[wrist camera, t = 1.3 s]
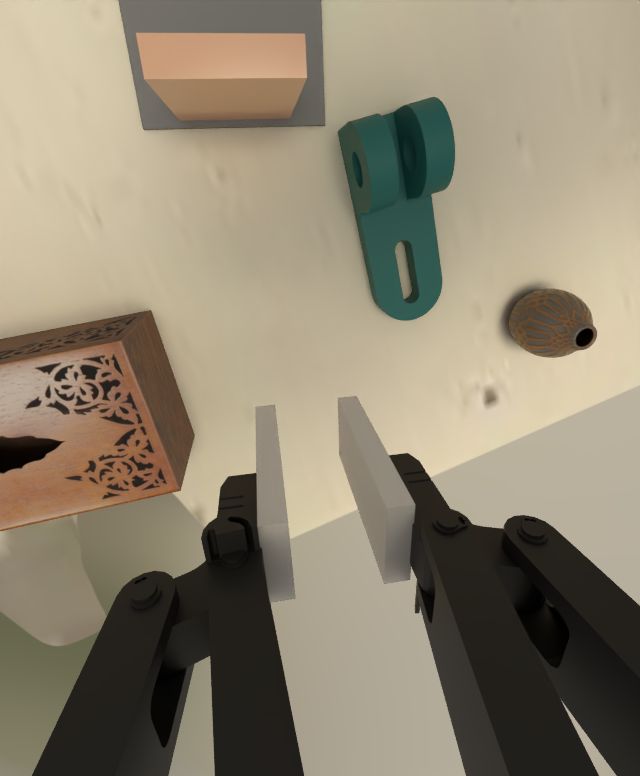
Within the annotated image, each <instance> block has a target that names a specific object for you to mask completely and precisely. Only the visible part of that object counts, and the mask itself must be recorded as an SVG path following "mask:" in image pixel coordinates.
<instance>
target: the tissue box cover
mask: <svg viewBox="0 0 640 776" xmlns="http://www.w3.org/2000/svg"><path fill="white" fill-rule="evenodd" d="M194 436H195V435H194V432H193V429H192V426H191V423H190V421H189V418H188V415H187V412H186V409H185V406H184V403H183V400H182V398H181V395H180V392H179V389H178V386H177V383H176V380H175V378H174V375H173V372H172V369H171V366H170V363H169V360H168V357H167V355H166V352H165V349H164V346H163V343H162V340H161V337H160V335H159V332H158V329H157V326H156V323H155V320H154V317H153V314H152V312H151V310H149V311H144V312H139V313H134V314H129V315H124V316H119V317H113V318H108V319H103V320H98V321H93V322H88V323H82V324H77V325H72V326H67V327H62V328H57V329H51V330H46V331H41V332H36V333H31V334H26V335H21V336H15V337H10V338H5V339H0V531H3V530H8V529H12V528H17V527H21V526H25V525H30V524H34V523H39V522H43V521H48V520H52V519H57V518H61V517H65V516H70V515H74V514H79V513H83V512H88V511H92V510H96V509H101V508H105V507H110V506H114V505H118V504H123V503H128V502H132V501H136V500H141V499H145V498H150V497H154V496H159V495H163V494H167V493H172V492H177V491H181V487H182V483H183V479H184V475H185V471H186V467H187V463H188V459H189V455H190V452H191V448H192V444H193V440H194Z"/></svg>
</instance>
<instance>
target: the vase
mask: <svg viewBox="0 0 640 776" xmlns="http://www.w3.org/2000/svg"><path fill="white" fill-rule="evenodd" d="M509 329H510V332H511V335H512V337H513V338H514V340H515V341H516V343H517V344H518V345H519V346H520V347H522V348H523V349H524V350H526V351H528V352H530V353H532V354H534V355H537V356H541V357H551V358H554V357H562V356H566V355H569V354H571V353H573V352H575V351H577V350H584V349H587V348H589V347H590V346H591V345H592V344H593V343H594V342H595V340H596V337H597V330H596V328H595V327H594V326H593V319H592V315H591V312H590V310H589V308H588V307H587V305H586V304H585V303H584V302H583V301H582V300H581V299H580V298H578V297H577V296H575V295H573V294H572V293H569V292H566V291H563V290H558V289H542V290H537V291H534V292H532V293H529V294H527V295H526V296H524V297H523V298H522V299H521V300H519V301H518V303H517V304H516V305H515V306H514V308H513V310H512V312H511V315H510V319H509Z"/></svg>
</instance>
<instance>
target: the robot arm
mask: <svg viewBox="0 0 640 776" xmlns="http://www.w3.org/2000/svg"><path fill="white" fill-rule="evenodd" d="M338 419H339V455H340V458H341V461H342V464H343V467H344V470H345V472H346V475H347V478H348V481H349V484H350V487H351V490H352V493H353V495H354V498H355V501H356V504H357V507H358V510H359V513H360V515H361V518H362V521H363V524H364V527H365V530H366V532H367V535H368V538H369V541H370V544H371V547H372V550H373V553H374V556H375V559H376V561H377V564H378V567H379V570H380V573H381V576H382V579H383V581H384V584H387V583H393V582H399V581H406V580H410V573H411V567H412V569H413V571H414V573H415V576H416V578H417V586H416V599H415V613H419V610H420V608H421V612H422V615H423V619H424V623H425V626H426V630H427V634H428V637H429V641H430V645H431V648H432V652H433V656H434V659H435V663H436V667H437V671H438V674H439V678H440V681H441V685H442V689H443V693H444V696H445V700H446V703H447V707H448V711H449V715H450V718H451V722H452V726H453V729H454V733H455V737H456V740H457V744H458V747H459V751H460V755H461V758H462V762H463V766H464V769H465V773H466V776H599V775H598V773H597V771H596V769H595V767H594V765H593V763H592V761H591V759H590V757H589V755H588V753H587V751H586V749H585V747H584V745H583V743H582V741H581V739H580V738H579V735H578V733H577V731H576V729H575V727H574V725H573V723H572V721H571V719H570V717H569V716H568V713H567V711H566V710H565V707H564V706H563V703H564V704H565V706H566V707H567V708H568V709H569V711H570V712H571V714H572V715H573V716H574V718H575V719H576V721H577V722H578V723H579V725H580V726H581V727H582V729H583V730H584V732H585V733H586V734H587V736H588V737H589V738H590V740H591V741H592V743H593V744H594V745H595V747H596V748H597V749H598V751H599V752H600V753H601V755H602V756H603V757H604V759H605V760H606V762H607V763H608V764H609V766H610V767H611V768H612V770H613V771H614V773H615V774H616V775H617V776H640V606H639V605H638V604H637V603H636V602H635V601H634V600H633V599H632V598H631V597H629V596H628V595H627V594H626V593H625V592H624V591H623V590H622V589H620V588H619V587H618V586H617V585H616V584H615V583H614V582H613V581H612V580H611V579H610V578H609V577H607V576H606V575H605V574H604V573H603V572H602V571H601V570H600V569H599V568H597V567H596V566H595V565H594V564H593V563H592V562H591V561H590V560H589V559H588V558H587V557H585V556H584V555H583V554H582V553H581V552H580V551H579V550H578V549H577V548H576V547H574V546H573V545H572V544H571V543H570V542H569V541H568V540H567V539H566V538H564V537H563V536H562V535H561V534H560V533H559V532H558V531H557V530H556V529H555V528H553V527H552V526H550V525H549V524H548V523H546V522H545V521H542V520H540V519H538V518H535V517H530V516H525V515H521V516H514V517H512V518H510V519H508V520H507V522H506V523H505V525H504V529H500V528H491V527H482V526H477V525H473V524H472V523H471V522H470V521H469V519H468V518H467V517H466V516H464V515H463V514H461V513H459V512H458V511H455V510H452V509H450V508H449V506H448V505H447V503H446V501H445V500H444V498H443V497H442V495H441V494H440V492H439V491H438V489H437V488H436V486H435V485H434V483H433V482H432V481H431V478H430V477H429V475H428V474H427V473H426V472H425V469H424V468H423V466H422V465H421V463H420V462H419V461H418V460H417V459H416V458H414V457H413V456H411V455H410V454H408V453H405V454H397V455H388V453H387V452H386V450H385V448H384V446H383V444H382V442H381V441H380V439H379V437H378V435H377V433H376V431H375V430H374V428H373V426H372V424H371V422H370V420H369V419H368V417H367V415H366V413H365V411H364V409H363V408H362V406H361V404H360V402H359V400H358V398H357V397H356V396H354V397H344V398H338ZM256 472H257V473H253V474H245V475H237V476H229V477H228V478H227V479H226V480H225V482H224V483H223V485H222V486H221V488H220V497H219V506H218V515H217V518H216V519H214V520H213V521H211V522H210V523H209V524H208V525H207V526H206V527H205V529H204V530H203V533H202V537H201V540H202V544H203V549H204V553H205V558H206V561H205V562H204V563H203V564H202V565H200V566H199V567H198V568H196V569H194V570H192V571H190V572H188V573H186V574H184V575H181V576H179V577H177V578H174V579H173V578H172V576H170V575H169V574H167V573H165V572H159V571H153V572H148V573H144V574H142V575H140V576H138V577H136V578H134V579H132V580H131V581H130V582H128V583H127V584H126V585H125V586H124V587H123V588H122V589H121V591H120V592H119V594H118V595H117V597H116V599H115V601H114V603H113V605H112V607H111V609H110V611H109V613H108V616H107V618H106V620H105V622H104V624H103V626H102V628H101V630H100V633H99V635H98V637H97V639H96V641H95V643H94V645H93V647H92V649H91V652H90V654H89V656H88V658H87V660H86V662H85V665H84V667H83V669H82V671H81V673H80V675H79V677H78V679H77V681H76V683H75V685H74V688H73V690H72V692H71V694H70V696H69V698H68V700H67V703H66V705H65V707H64V709H63V711H62V713H61V715H60V717H59V719H58V721H57V724H56V726H55V728H54V730H53V732H52V734H51V736H50V738H49V741H48V743H47V745H46V747H45V749H44V751H43V753H42V756H41V758H40V760H39V762H38V764H37V766H36V768H35V770H34V773H33V774H32V776H168V774H169V770H170V765H171V762H172V757H173V752H174V749H175V745H176V740H177V735H178V732H179V727H180V723H181V719H182V715H183V710H184V706H185V702H186V697H187V693H188V689H189V684H190V680H191V676H192V671H193V668H194V664H195V663H197V662H198V661H200V660H203V659H204V658H206V657H208V656H210V659H211V686H212V710H213V737H214V763H215V776H304V772H303V767H302V762H301V758H300V752H299V747H298V742H297V737H296V732H295V727H294V722H293V716H292V712H291V706H290V701H289V696H288V691H287V686H286V681H285V676H284V671H283V665H282V660H281V656H280V650H279V646H278V640H277V635H276V630H275V625H274V620H273V615H272V610H271V604H270V603H271V602H277V601H284V600H289V599H295V590H294V578H293V568H292V558H291V548H290V537H289V527H288V518H287V509H286V500H285V491H284V482H283V473H282V464H281V455H280V446H279V437H278V428H277V419H276V410H275V405H269V406H259V407H256ZM561 700H562V701H563V703H562V701H561Z"/></svg>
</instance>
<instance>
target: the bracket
mask: <svg viewBox="0 0 640 776" xmlns="http://www.w3.org/2000/svg"><path fill="white" fill-rule="evenodd" d="M338 136H339V141H340V146H341V150H342V155H343V160H344V164H345V169H346V174H347V179H348V183H349V188H350V193H351V198H352V202H353V207H354V212H355V217H356V221H357V226H358V231H359V235H360V240H361V245H362V250H363V254H364V259H365V264H366V269H367V273H368V278H369V283H370V287H371V292H372V296H373V299H374V301H375V303H376V304H377V305H378V307H379V308H380V309H382V310H383V311H384V312H385V313H386V314H388V315H389V316H391V317H393V318H395V319H398V320H413V319H416V318H419V317H421V316H423V315H424V314H426V313H427V312H428V311H429V310H430V309H431V308H432V307H433V306H434V305H435V303H436V302H437V300H438V298H439V296H440V293H441V289H442V274H441V266H440V259H439V251H438V243H437V236H436V228H435V221H434V213H433V205H432V198H431V194H433V193H436V192H439V191H443V190H445V189H446V188H447V187H448V185H449V183H450V181H451V178H452V175H453V170H454V163H455V143H454V135H453V129H452V124H451V121H450V117H449V115H448V112H447V110H446V108H445V106H444V104H443V103H442V102H441V101H440V100H439V99H438V98H436V97H431V98H428V99H425V100H421V101H418V102H415V103H411V104H408V105H404V106H402V107H401V108H399V109H398V110H396V111H395V112H393V113H390V114H386V115H383V116H381V115H380V114H374V115H371V116H367V117H364V118H361V119H357V120H354V121H351V122H348V123H347V124H346V125H345V126H344V127H342V128H341V129H340V130H339V131H338ZM400 241H403V242H404V244H405V250H406V256H407V262H408V268H409V274H410V280H411V286H412V293H411V295H410V296H409V297H408V298H407V299H403V294H402V288H401V283H400V277H399V271H398V266H397V260H396V255H395V247H396V245H397V243H398V242H400Z"/></svg>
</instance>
